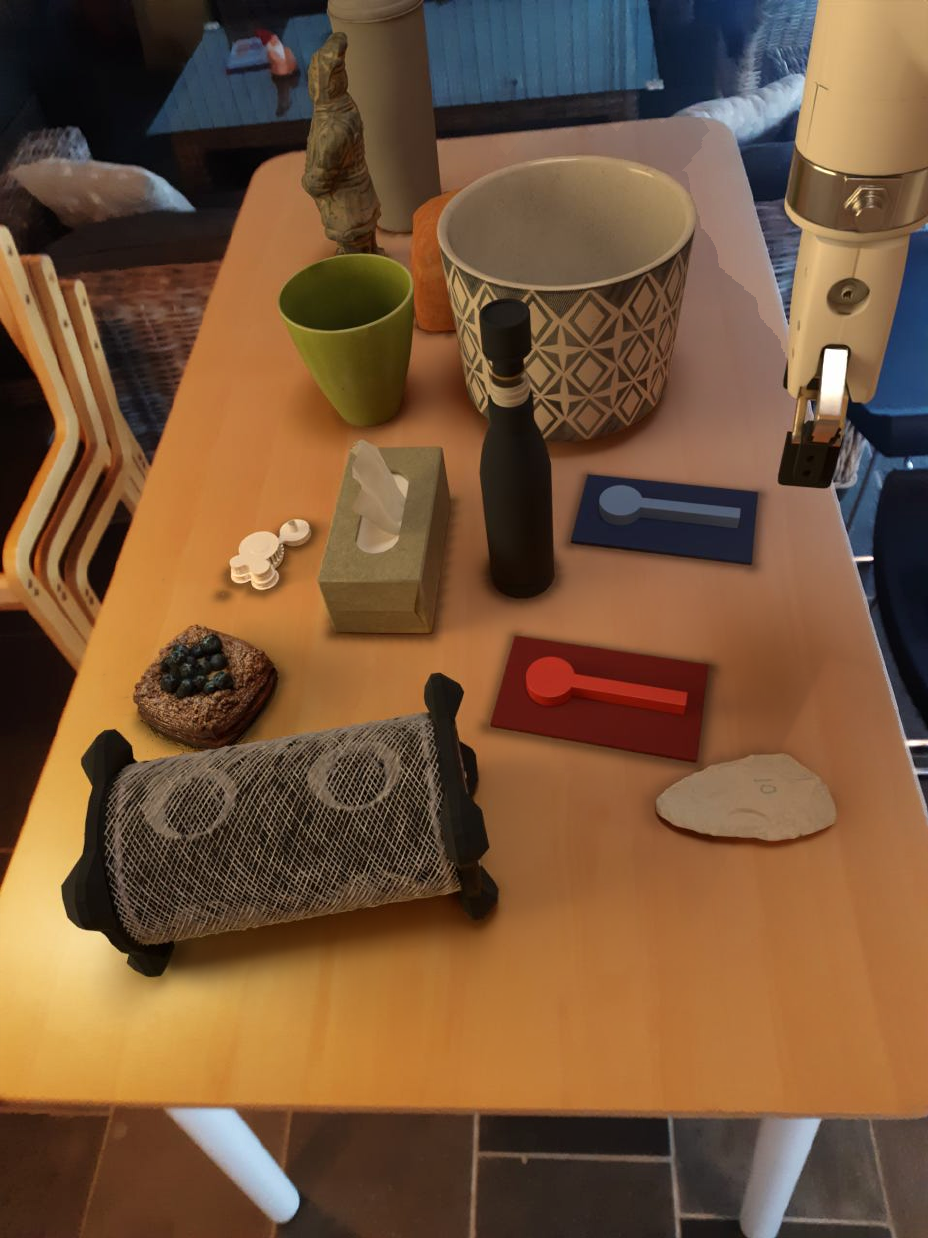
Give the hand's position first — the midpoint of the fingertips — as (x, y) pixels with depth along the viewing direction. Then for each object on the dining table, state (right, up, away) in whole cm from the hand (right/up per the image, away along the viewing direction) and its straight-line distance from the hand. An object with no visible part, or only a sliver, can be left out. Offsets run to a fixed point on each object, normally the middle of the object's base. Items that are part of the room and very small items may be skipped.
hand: (804, 433), depth 59 cm
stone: (0, -28, +13) cm, 30 cm away
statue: (-38, +38, +68) cm, 87 cm away
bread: (-13, +31, +60) cm, 69 cm away
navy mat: (-2, -2, +33) cm, 33 cm away
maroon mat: (-11, -19, +20) cm, 30 cm away
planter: (-11, +15, +47) cm, 50 cm away
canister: (-32, +50, +77) cm, 97 cm away
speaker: (-35, -33, +13) cm, 50 cm away
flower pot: (-34, +13, +49) cm, 61 cm away
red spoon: (-10, -19, +20) cm, 29 cm away
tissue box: (-30, -7, +33) cm, 45 cm away
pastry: (-47, -20, +25) cm, 57 cm away
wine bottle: (-17, -8, +30) cm, 36 cm away
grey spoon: (-2, -2, +32) cm, 32 cm away
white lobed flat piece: (-44, -7, +35) cm, 56 cm away
